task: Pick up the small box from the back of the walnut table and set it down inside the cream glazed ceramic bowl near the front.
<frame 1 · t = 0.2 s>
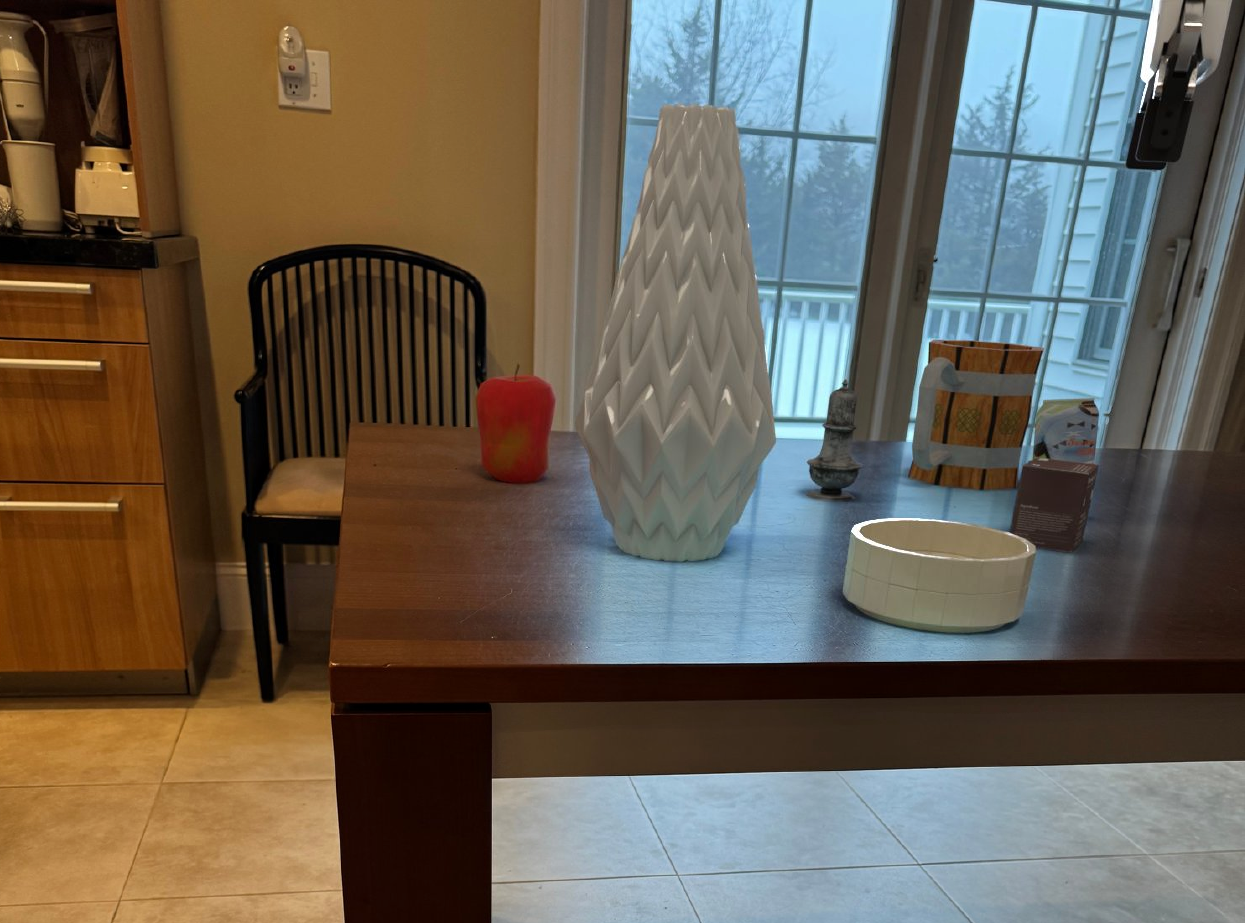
hand: (1150, 165, 94), 31 cm above the table, tool pointing down, fingers open, 9 cm apart
box: (1043, 546, 111), on the table
mug: (950, 484, 139), on the table
beverage can: (1050, 519, 123), on the table
vase: (666, 552, 102), on the table
apple: (515, 481, 127), on the table
bowl: (929, 611, 89), on the table
salt shaker: (830, 499, 127), on the table
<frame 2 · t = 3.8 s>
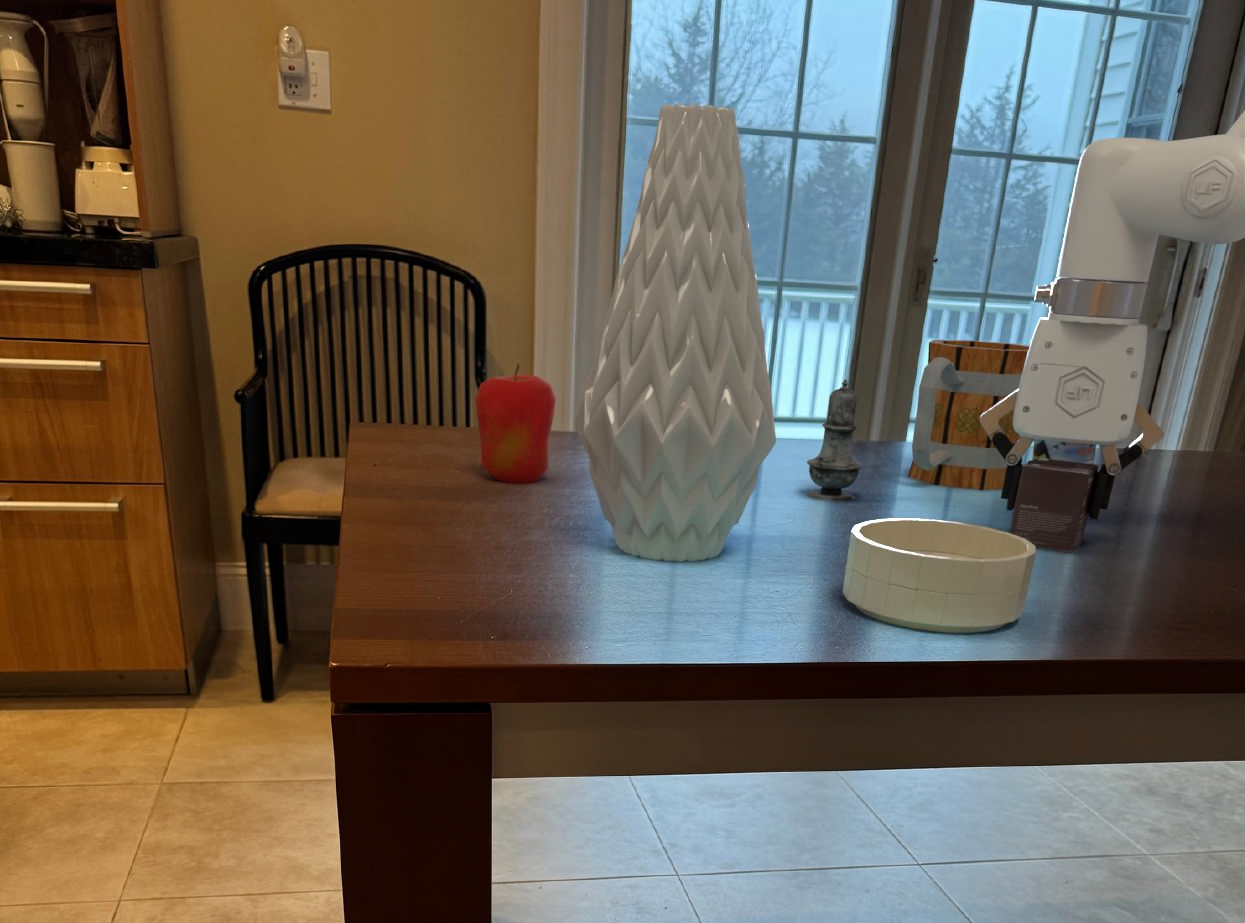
hand: (1051, 510, 110), 3 cm above the table, tool pointing down, fingers closed on box, 6 cm apart
box: (1043, 546, 111), on the table, touching gripper
everything else where it was.
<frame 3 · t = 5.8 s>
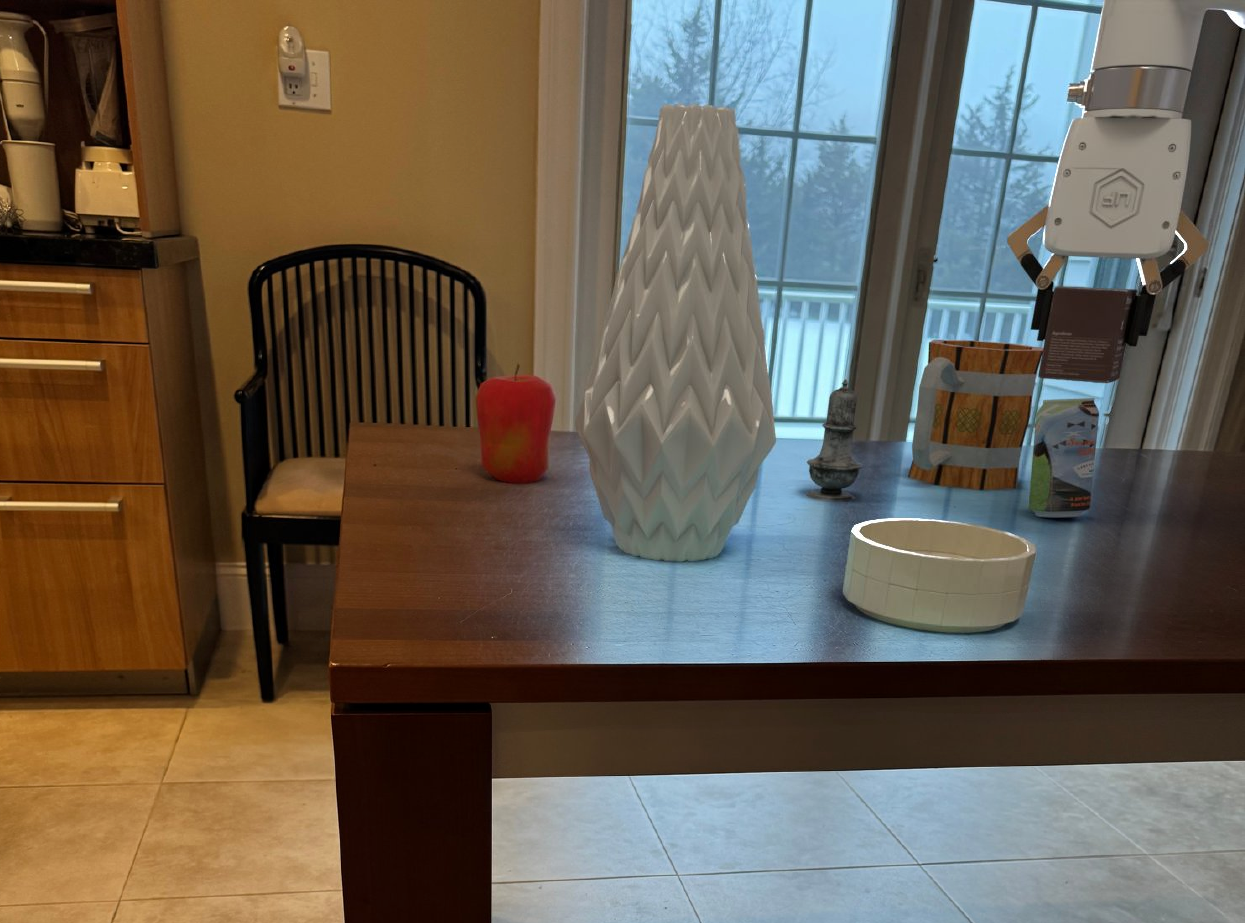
hand: (1085, 340, 101), 18 cm above the table, tool pointing down, fingers closed on box, 6 cm apart
box: (1077, 382, 103), point 15 cm above the table, touching gripper
everything else where it was.
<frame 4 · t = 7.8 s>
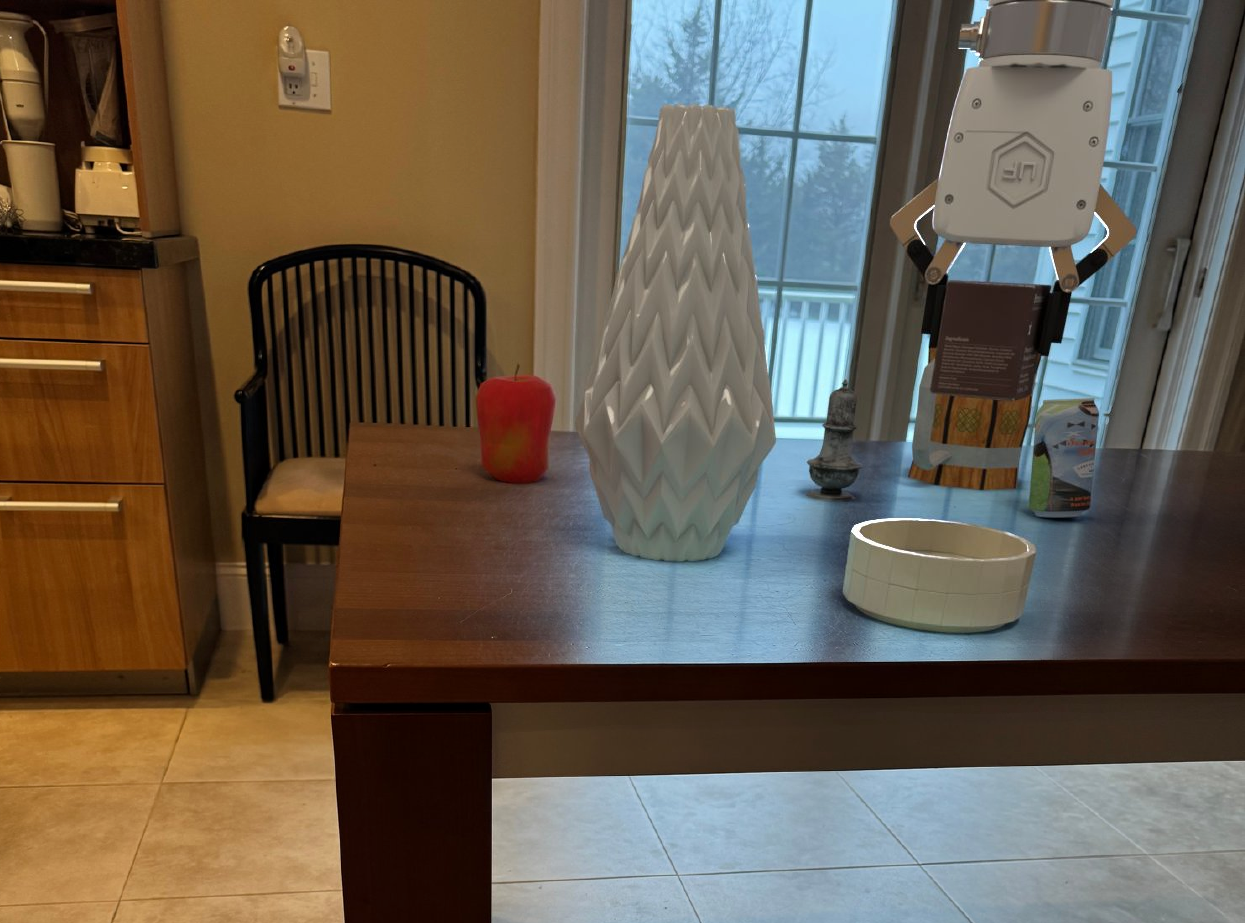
hand: (988, 348, 82), 18 cm above the table, tool pointing down, fingers closed on box, 6 cm apart
box: (979, 398, 84), point 15 cm above the table, touching gripper
everything else where it was.
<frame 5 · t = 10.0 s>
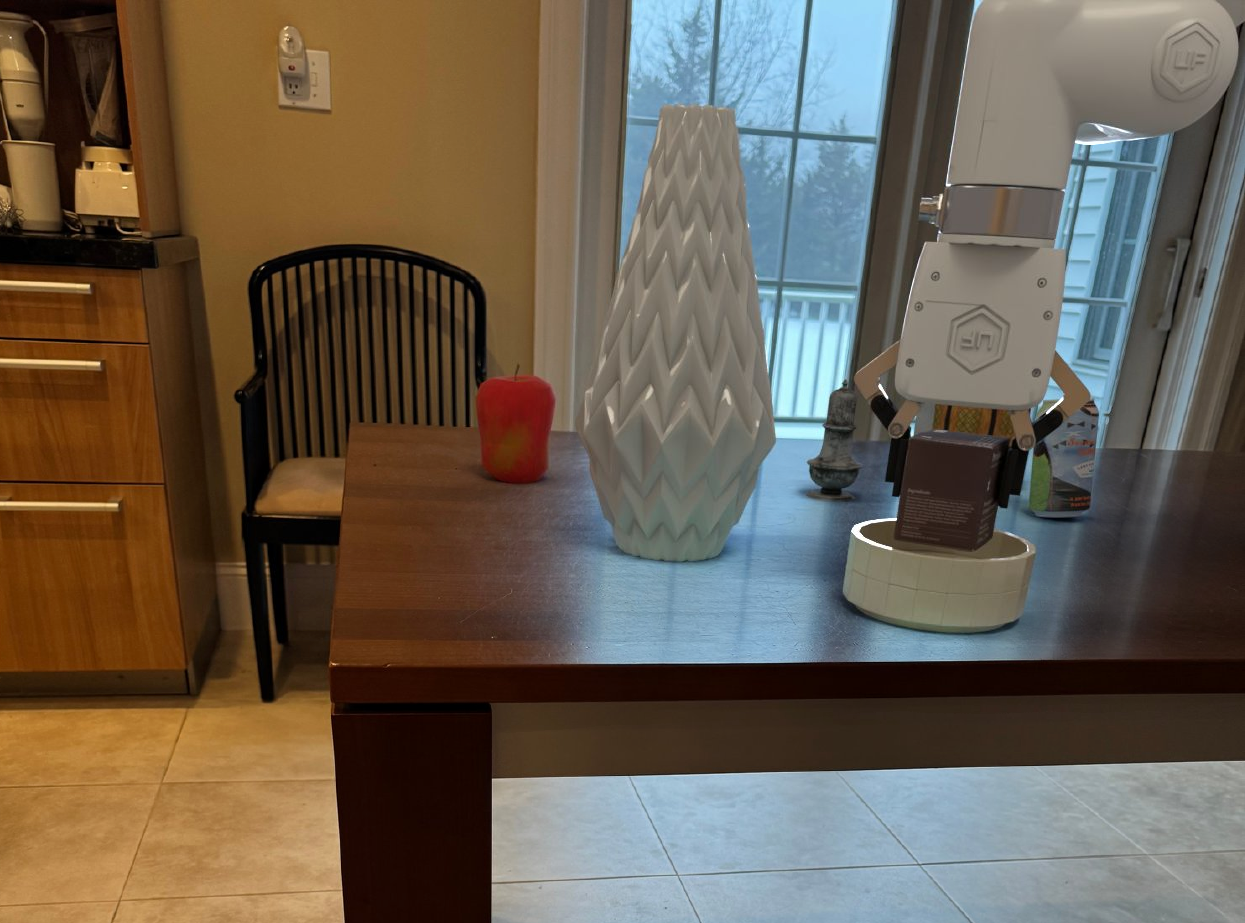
hand: (950, 497, 85), 8 cm above the table, tool pointing down, fingers closed on box, 6 cm apart
box: (942, 543, 86), point 5 cm above the table, touching gripper
everything else where it was.
when the fingers open (4 cm above the table, at t = 11.8 s): box stays where it is, resting on bowl.
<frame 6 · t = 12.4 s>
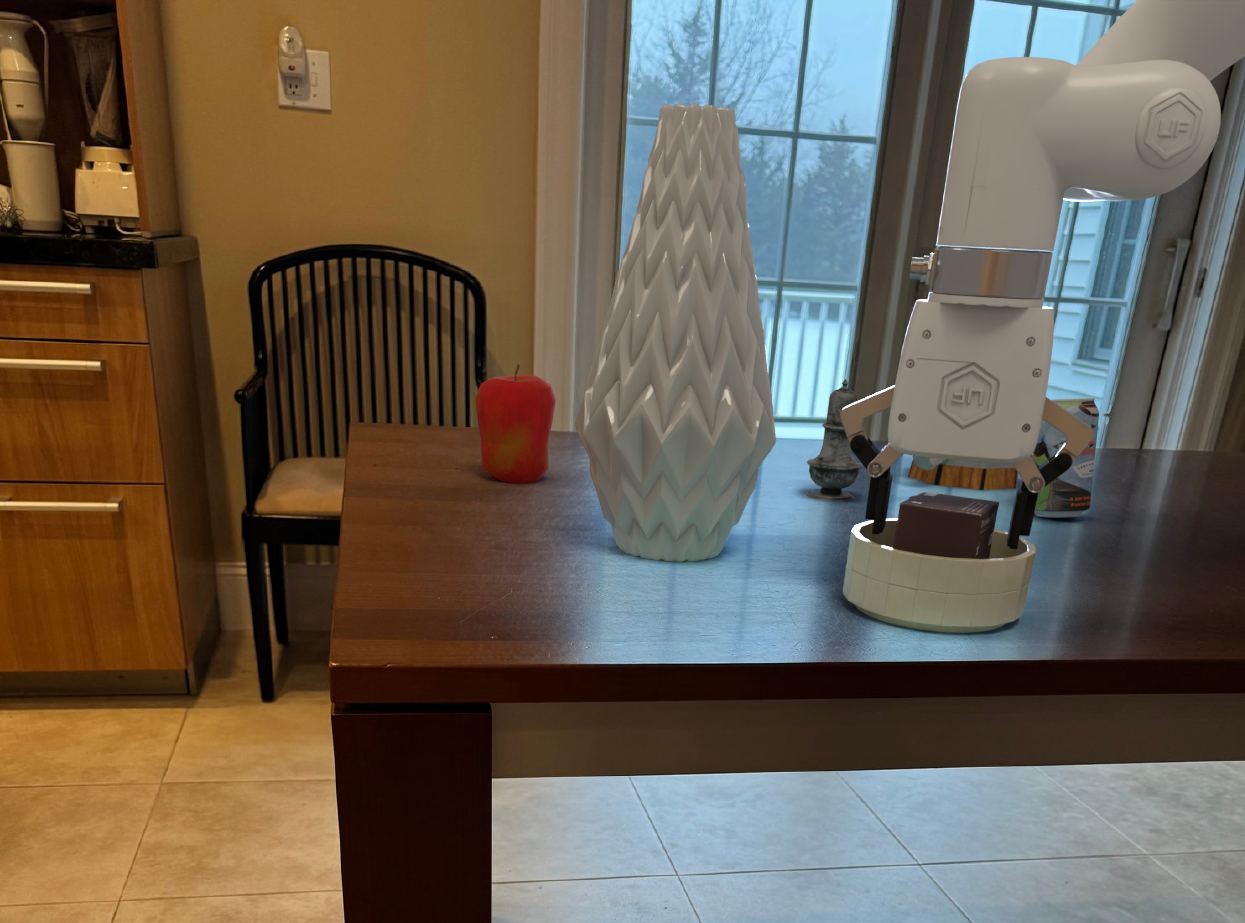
hand: (944, 537, 86), 6 cm above the table, tool pointing down, fingers open, 9 cm apart
box: (932, 603, 88), point 1 cm above the table, touching bowl
everything else where it was.
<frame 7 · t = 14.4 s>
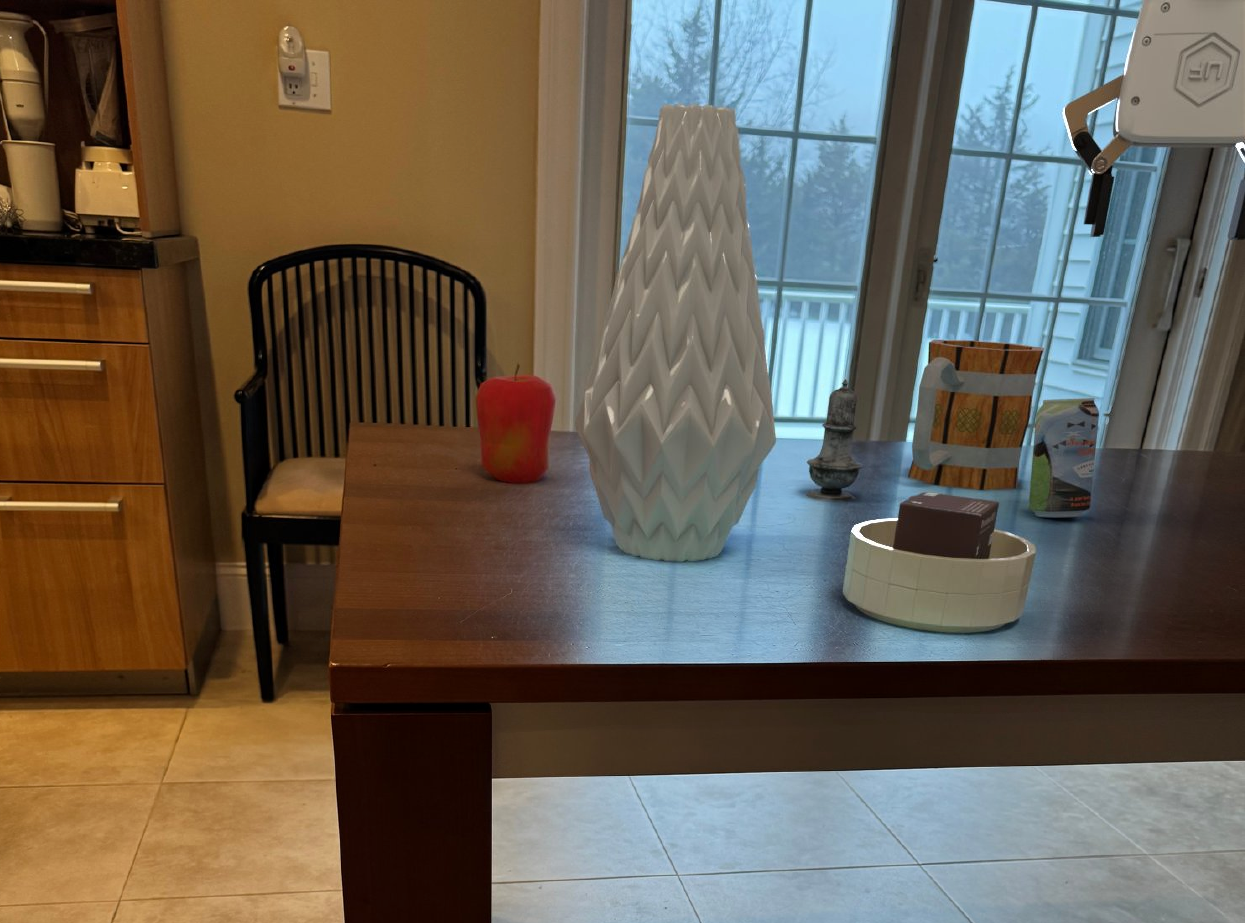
hand: (1165, 237, 86), 26 cm above the table, tool pointing down, fingers open, 9 cm apart
nothing on the table moved.
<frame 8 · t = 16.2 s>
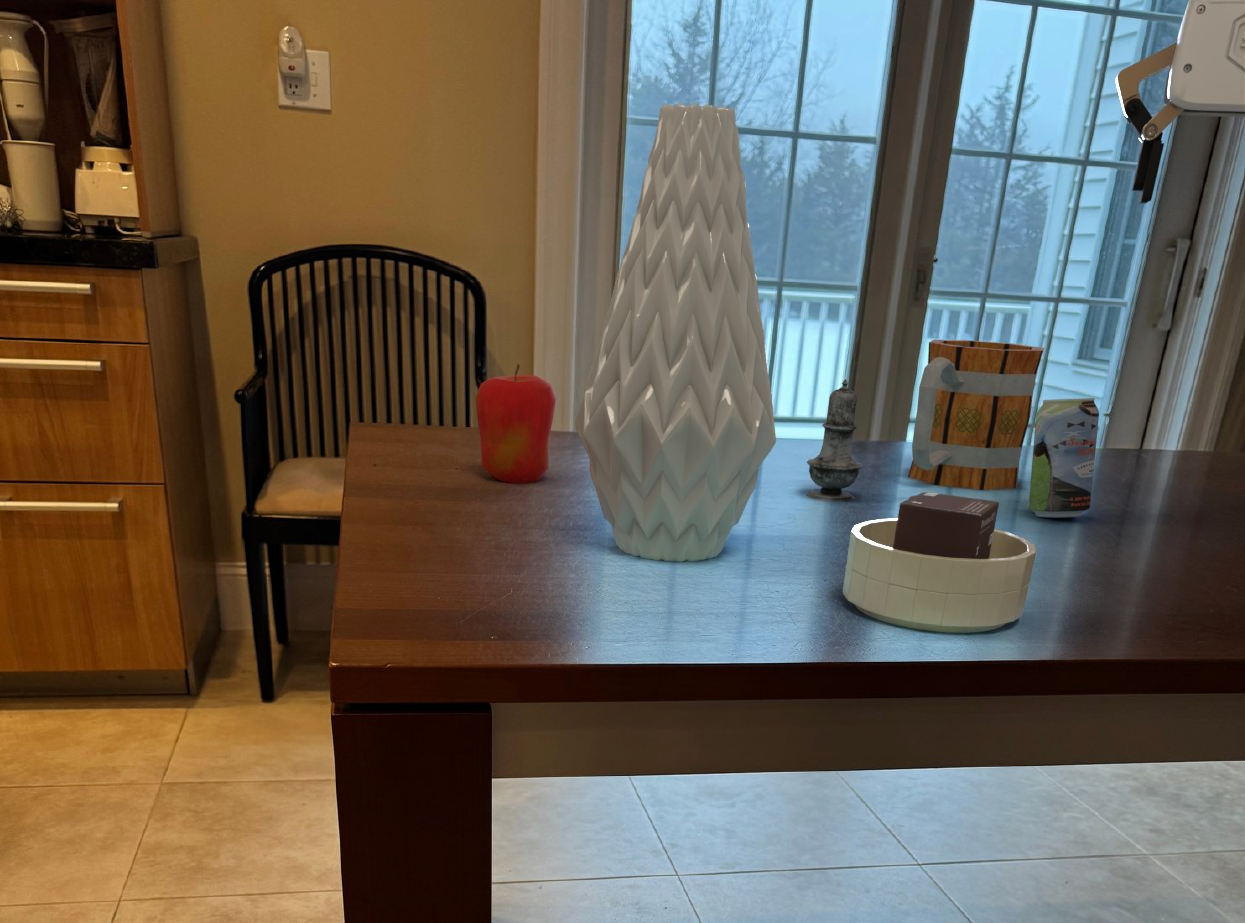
hand: (1211, 205, 88), 28 cm above the table, tool pointing down, fingers open, 9 cm apart
nothing on the table moved.
at the end: box inside the target area in the bowl (0.1 cm from its centre), point 0.6 cm above the bowl's base; box tilted 0°; the gripper is holding nothing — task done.
